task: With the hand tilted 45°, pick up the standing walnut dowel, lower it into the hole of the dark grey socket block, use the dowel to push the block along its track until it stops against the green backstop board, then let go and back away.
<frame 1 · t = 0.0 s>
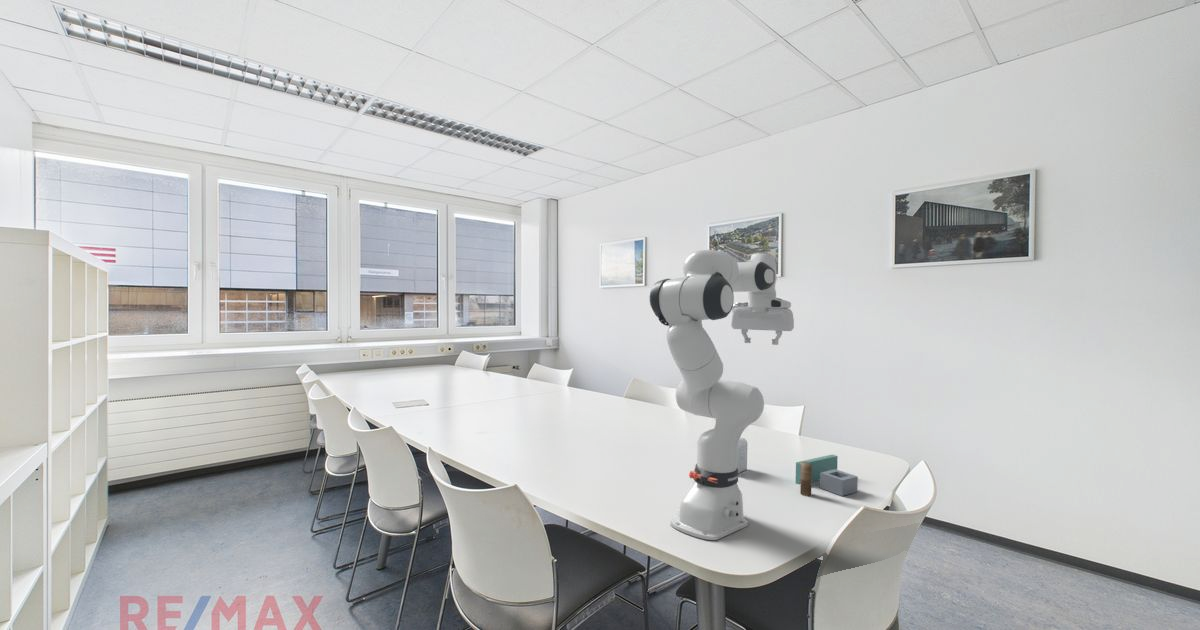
hand: (761, 343, 157), 48 cm above the table, tool pointing down, fingers open, 8 cm apart
backstop board: (816, 478, 166), on the table
socket block: (838, 482, 156), point 3 cm above the table, slide at 5.0 cm
walnut dowel: (805, 494, 152), on the table
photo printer: (736, 471, 173), on the table
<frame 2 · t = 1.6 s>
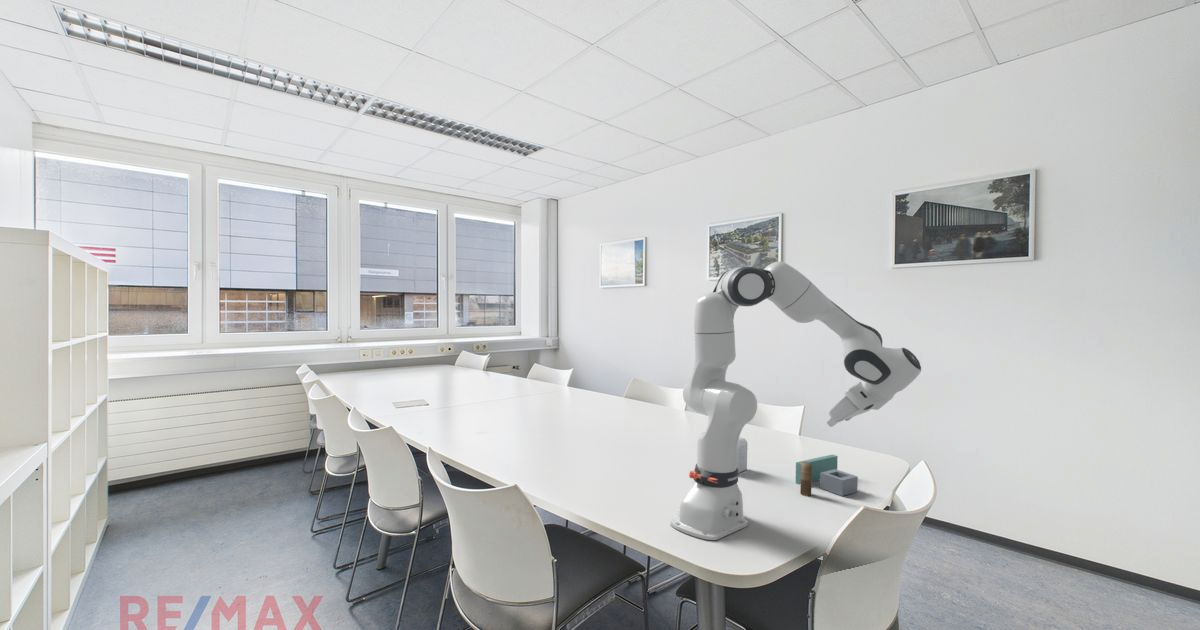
hand: (837, 421, 143), 26 cm above the table, tool tilted 45°, fingers open, 8 cm apart
nothing on the table moved.
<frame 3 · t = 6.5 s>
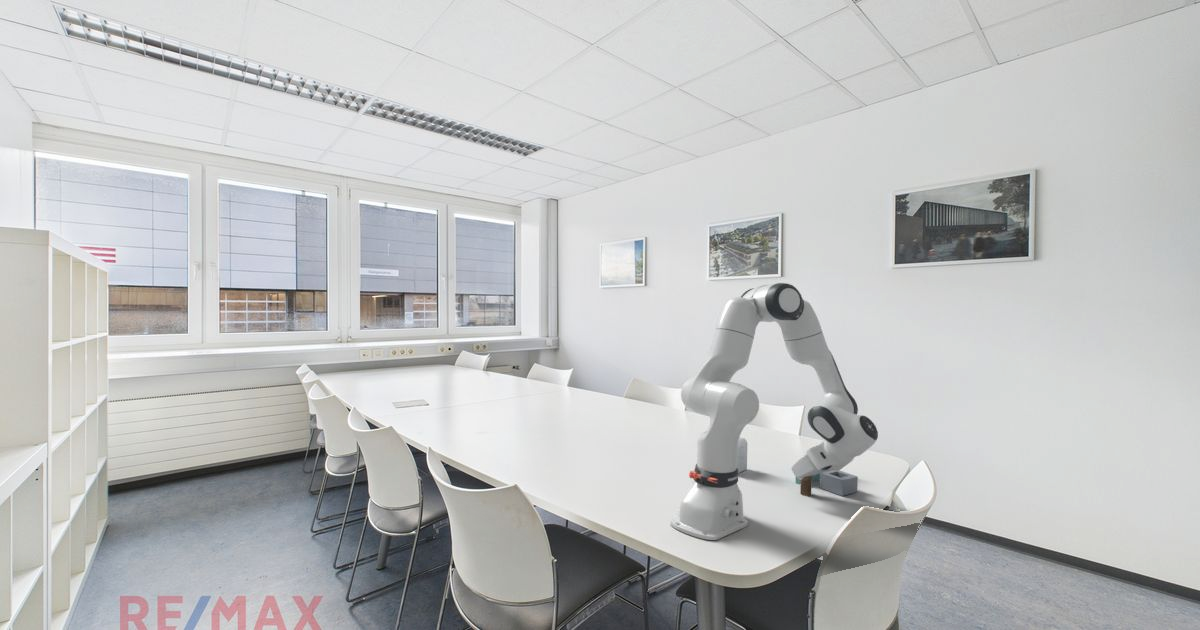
hand: (804, 476, 152), 6 cm above the table, tool tilted 45°, fingers closed on walnut dowel, 3 cm apart
walnut dowel: (805, 494, 152), on the table, touching gripper
everything else where it was.
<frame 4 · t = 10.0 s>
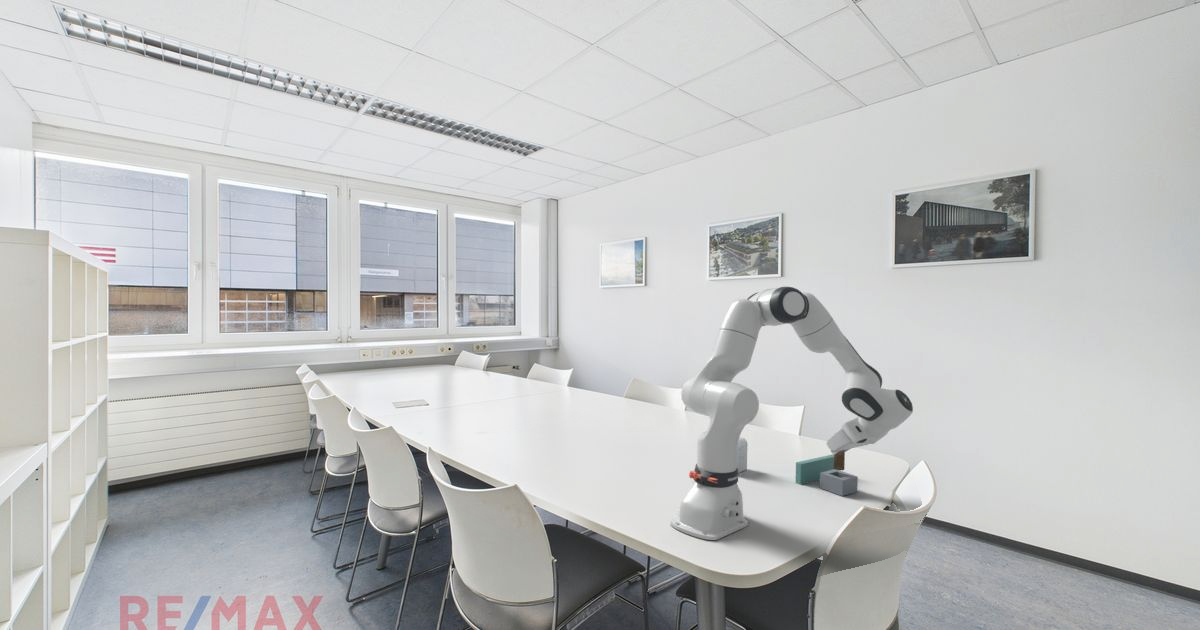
hand: (837, 451, 156), 13 cm above the table, tool tilted 45°, fingers closed on walnut dowel, 3 cm apart
walnut dowel: (838, 468, 156), point 7 cm above the table, touching gripper
everything else where it was.
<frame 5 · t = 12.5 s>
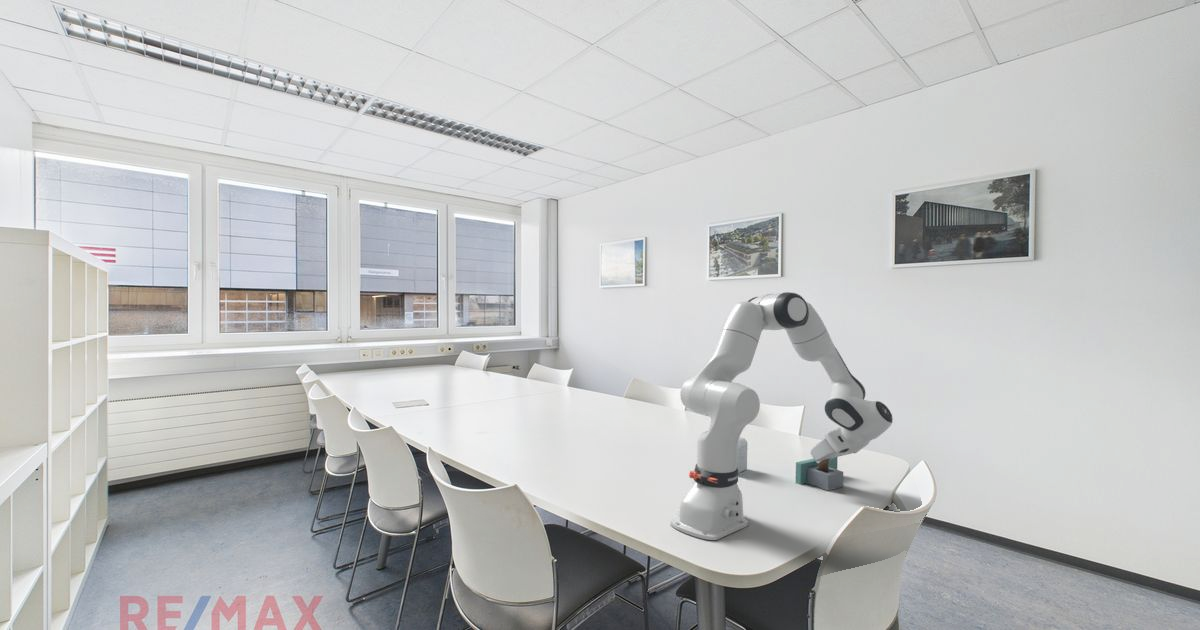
hand: (821, 460, 161), 8 cm above the table, tool tilted 45°, fingers closed on walnut dowel, 3 cm apart
socket block: (824, 477, 160), point 3 cm above the table, slide at 0.0 cm, touching walnut dowel
walnut dowel: (823, 477, 161), point 3 cm above the table, touching gripper, socket block
everything else where it was.
when the fingers open (8 cm above the table, at t = 13.5 s): walnut dowel stays where it is, resting on socket block.
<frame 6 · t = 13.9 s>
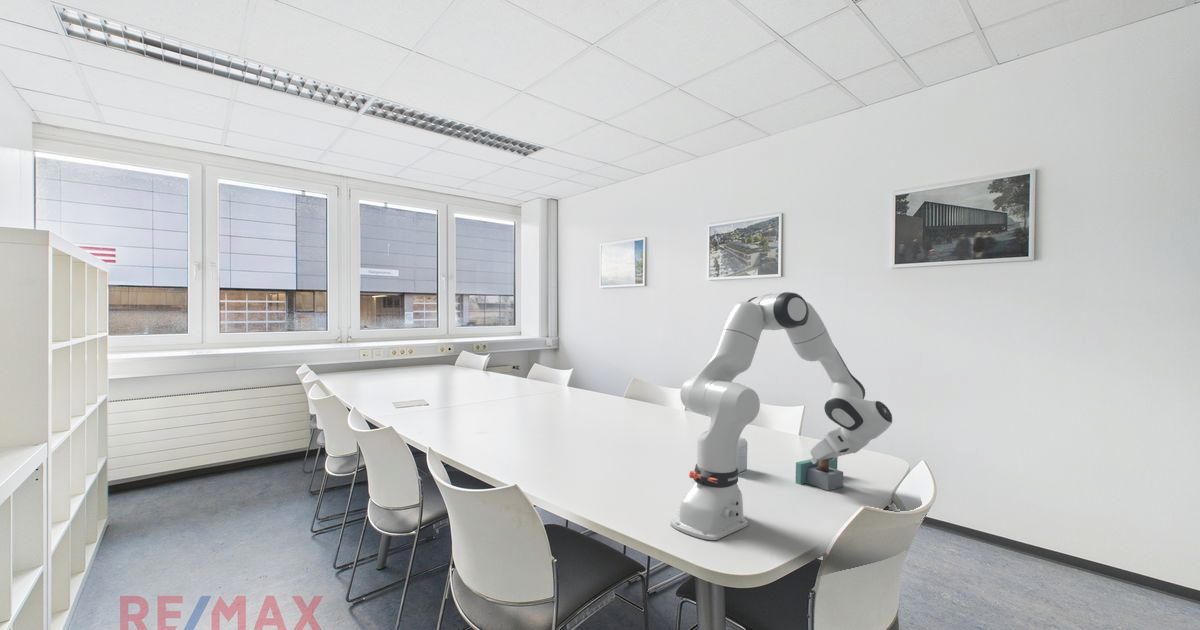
hand: (821, 459, 161), 8 cm above the table, tool tilted 45°, fingers open, 8 cm apart
walnut dowel: (823, 479, 161), point 2 cm above the table, touching socket block
everything else where it was.
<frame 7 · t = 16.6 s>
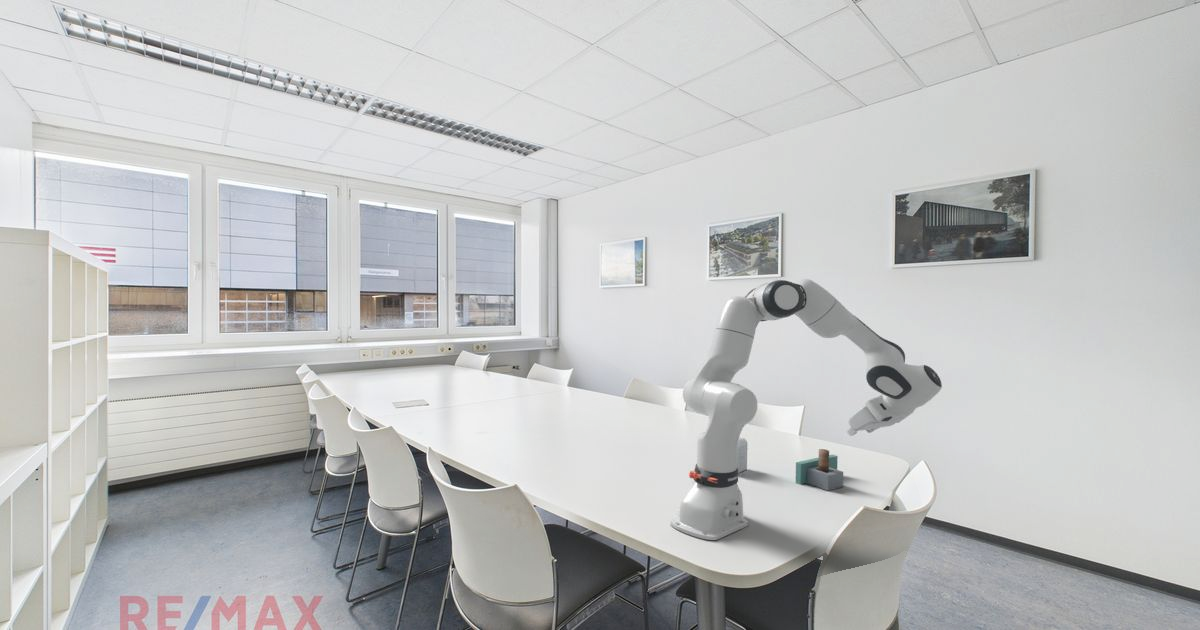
hand: (858, 432, 150), 21 cm above the table, tool tilted 45°, fingers open, 8 cm apart
nothing on the table moved.
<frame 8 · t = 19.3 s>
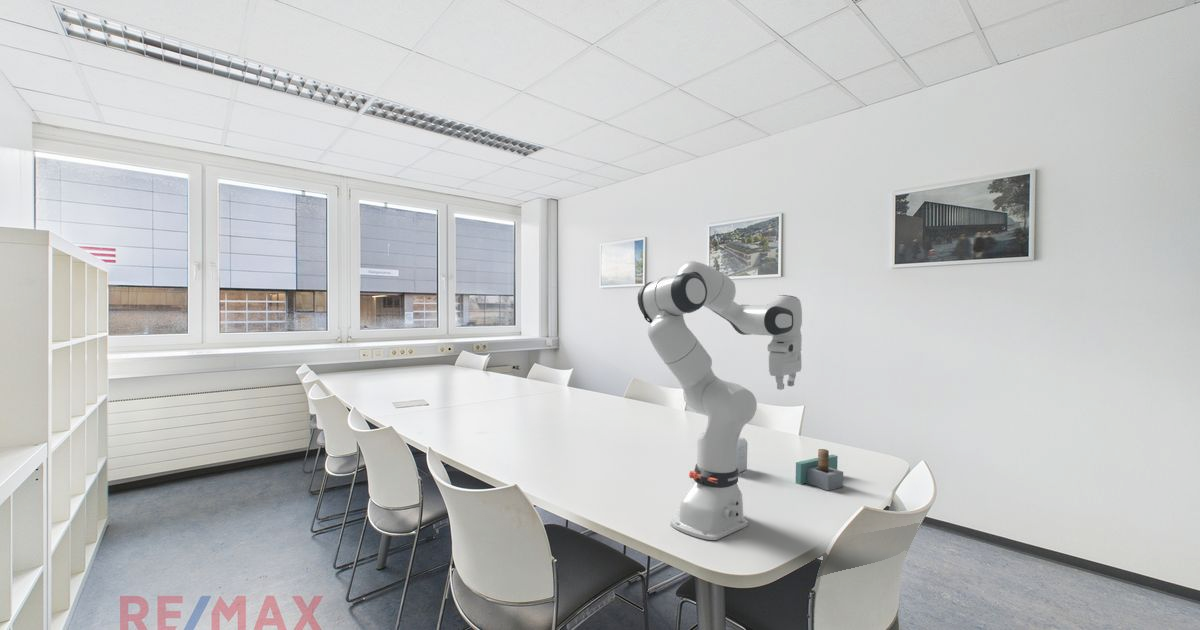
hand: (785, 387, 153), 34 cm above the table, tool pointing down, fingers open, 8 cm apart
nothing on the table moved.
at the end: socket block slide at 0.0 cm; walnut dowel 0.5 cm off-centre on the socket block, point 1.7 cm above the socket block's base; the gripper is holding nothing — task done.
